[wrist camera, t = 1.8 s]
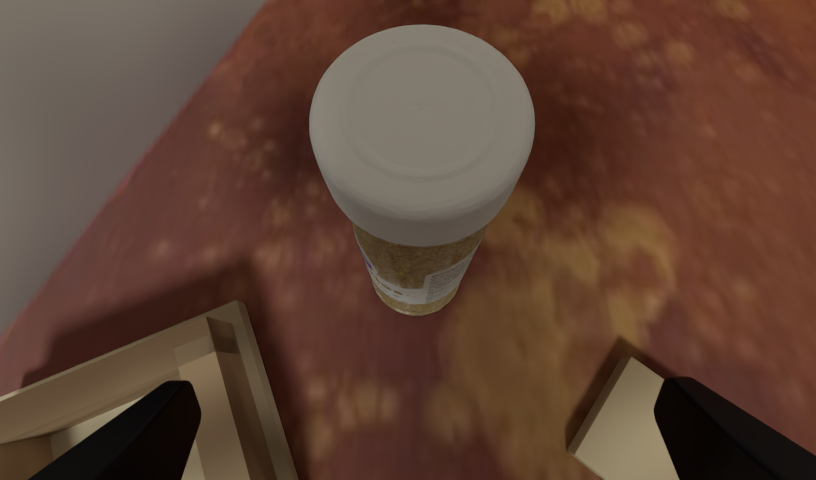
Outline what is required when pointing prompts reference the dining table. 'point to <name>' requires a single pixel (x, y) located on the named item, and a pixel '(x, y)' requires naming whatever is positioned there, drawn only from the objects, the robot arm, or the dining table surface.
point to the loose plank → (625, 428)
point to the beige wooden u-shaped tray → (143, 372)
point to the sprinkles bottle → (421, 153)
